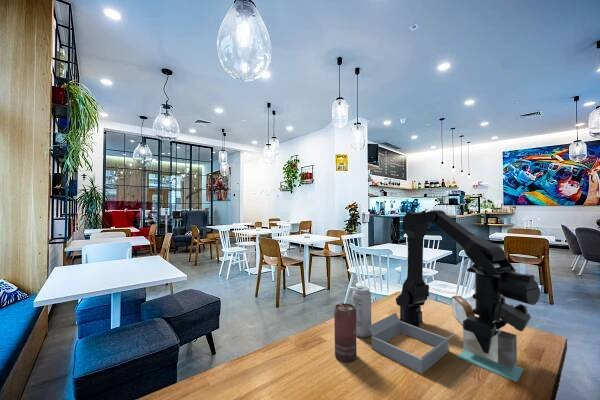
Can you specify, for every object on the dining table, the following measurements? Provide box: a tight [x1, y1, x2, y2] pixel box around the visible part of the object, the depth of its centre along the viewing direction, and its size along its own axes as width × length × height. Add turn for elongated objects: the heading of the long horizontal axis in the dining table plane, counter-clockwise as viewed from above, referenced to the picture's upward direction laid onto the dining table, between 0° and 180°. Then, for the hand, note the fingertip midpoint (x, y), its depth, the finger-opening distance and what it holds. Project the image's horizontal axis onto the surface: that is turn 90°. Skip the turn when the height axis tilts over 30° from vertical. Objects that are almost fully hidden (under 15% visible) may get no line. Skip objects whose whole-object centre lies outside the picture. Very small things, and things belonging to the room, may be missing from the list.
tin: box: [451, 295, 476, 327], centre depth 95 cm, size 15×3×8 cm, turn 168°
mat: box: [457, 350, 525, 382], centre depth 71 cm, size 13×7×1 cm, turn 39°
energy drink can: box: [351, 285, 372, 338], centre depth 88 cm, size 6×6×15 cm
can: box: [333, 303, 358, 363], centre depth 75 cm, size 6×6×14 cm
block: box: [462, 328, 518, 369], centre depth 71 cm, size 11×4×7 cm, turn 39°
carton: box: [368, 312, 455, 375], centre depth 78 cm, size 19×16×6 cm
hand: (488, 350), depth 71 cm, fingers closed on block, 4 cm apart
